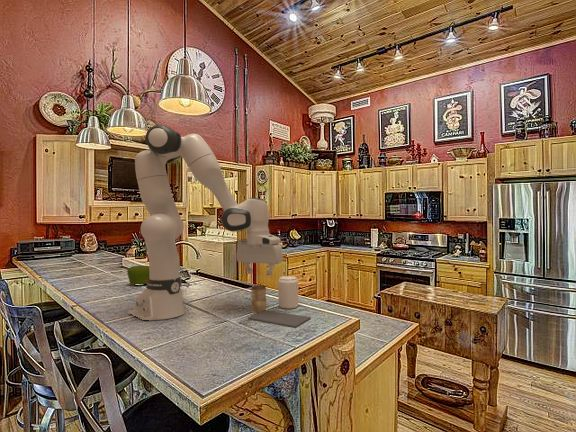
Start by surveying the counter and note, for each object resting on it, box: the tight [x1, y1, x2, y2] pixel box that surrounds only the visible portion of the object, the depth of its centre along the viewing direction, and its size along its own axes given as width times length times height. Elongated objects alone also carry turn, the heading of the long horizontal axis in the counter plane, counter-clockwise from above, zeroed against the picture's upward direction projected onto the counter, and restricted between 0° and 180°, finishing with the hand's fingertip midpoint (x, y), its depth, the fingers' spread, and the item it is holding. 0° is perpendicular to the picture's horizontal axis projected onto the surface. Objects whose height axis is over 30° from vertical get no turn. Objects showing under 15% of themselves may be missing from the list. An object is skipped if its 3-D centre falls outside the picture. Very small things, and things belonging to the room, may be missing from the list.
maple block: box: [250, 284, 267, 314], centre depth 132 cm, size 4×4×10 cm
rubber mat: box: [247, 309, 311, 329], centre depth 123 cm, size 20×11×1 cm, turn 59°
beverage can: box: [277, 275, 299, 310], centre depth 139 cm, size 8×8×12 cm
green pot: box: [126, 265, 150, 285], centre depth 188 cm, size 12×12×11 cm
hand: (259, 274), depth 132 cm, fingers open, 8 cm apart
